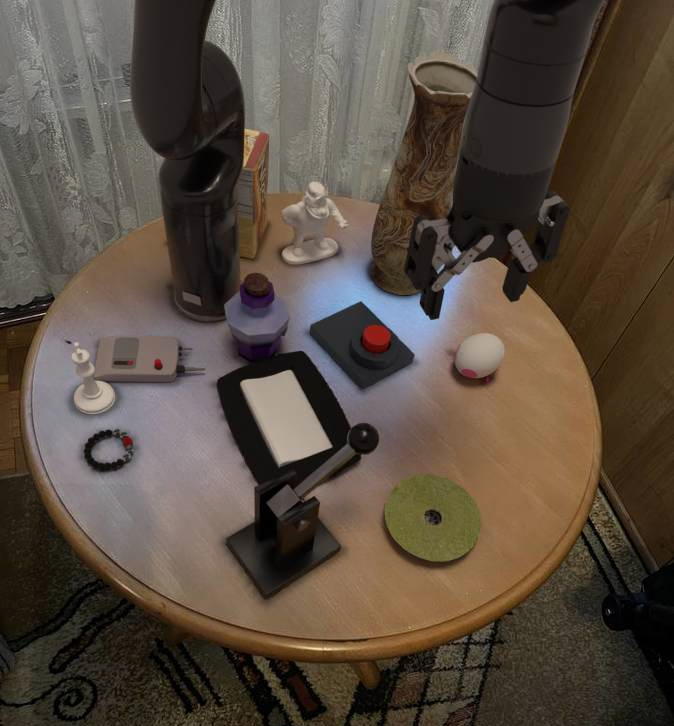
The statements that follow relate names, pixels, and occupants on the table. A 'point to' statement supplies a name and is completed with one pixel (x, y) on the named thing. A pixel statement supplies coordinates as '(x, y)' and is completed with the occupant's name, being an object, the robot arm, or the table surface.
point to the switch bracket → (282, 539)
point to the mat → (432, 517)
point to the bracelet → (107, 466)
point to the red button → (376, 339)
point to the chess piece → (90, 386)
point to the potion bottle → (257, 318)
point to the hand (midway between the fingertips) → (470, 305)
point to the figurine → (311, 226)
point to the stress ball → (479, 355)
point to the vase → (422, 164)
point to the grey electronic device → (139, 359)
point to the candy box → (253, 192)
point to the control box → (359, 345)
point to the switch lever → (326, 468)
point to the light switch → (284, 416)
